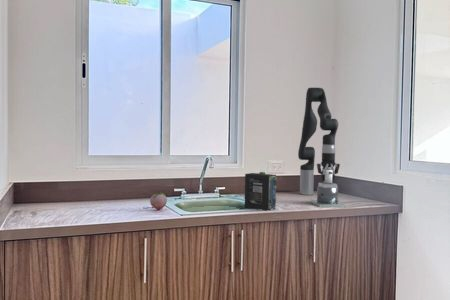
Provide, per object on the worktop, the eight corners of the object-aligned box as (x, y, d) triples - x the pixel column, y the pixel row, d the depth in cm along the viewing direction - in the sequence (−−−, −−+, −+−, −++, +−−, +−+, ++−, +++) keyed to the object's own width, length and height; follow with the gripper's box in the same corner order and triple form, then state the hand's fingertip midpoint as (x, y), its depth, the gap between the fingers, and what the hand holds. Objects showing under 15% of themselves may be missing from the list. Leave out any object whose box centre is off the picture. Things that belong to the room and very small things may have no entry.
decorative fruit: (156, 208, 208) (156, 189, 207) (169, 209, 204) (169, 190, 204) (146, 211, 199) (146, 192, 199) (159, 212, 196) (160, 193, 195)
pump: (322, 182, 228) (322, 166, 227) (330, 182, 228) (330, 166, 228) (326, 184, 221) (327, 167, 221) (334, 184, 222) (335, 167, 222)
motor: (309, 202, 233) (309, 182, 232) (334, 202, 235) (334, 181, 235) (319, 207, 217) (320, 185, 217) (346, 206, 219) (346, 185, 219)
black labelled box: (270, 211, 203) (271, 173, 202) (242, 207, 214) (243, 171, 213) (277, 209, 210) (278, 172, 209) (250, 205, 221) (250, 170, 220)
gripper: (337, 152, 230) (336, 180, 230) (314, 152, 228) (313, 180, 228) (342, 152, 222) (342, 181, 223) (319, 152, 220) (318, 181, 221)
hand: (327, 180), depth 226 cm, fingers closed on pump, 5 cm apart
